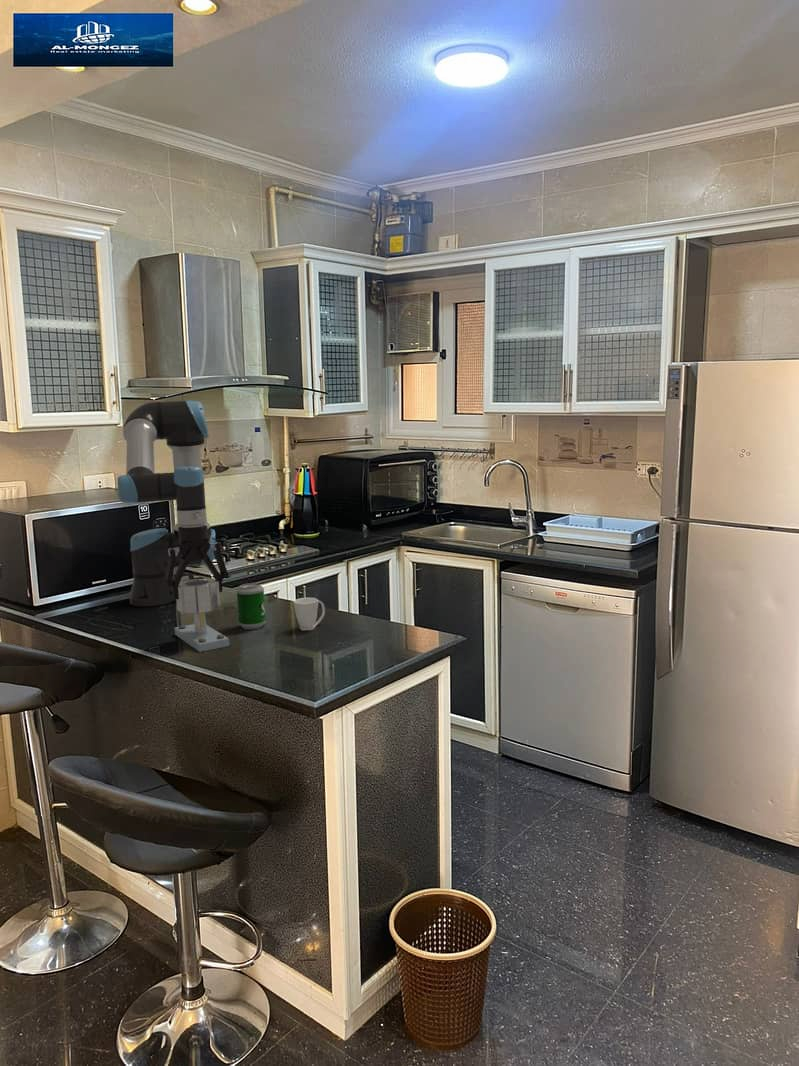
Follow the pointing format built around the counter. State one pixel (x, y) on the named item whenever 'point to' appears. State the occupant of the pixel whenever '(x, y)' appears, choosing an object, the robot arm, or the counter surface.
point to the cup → (308, 612)
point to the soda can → (251, 606)
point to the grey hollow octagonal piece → (199, 595)
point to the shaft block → (201, 634)
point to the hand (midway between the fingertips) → (198, 607)
